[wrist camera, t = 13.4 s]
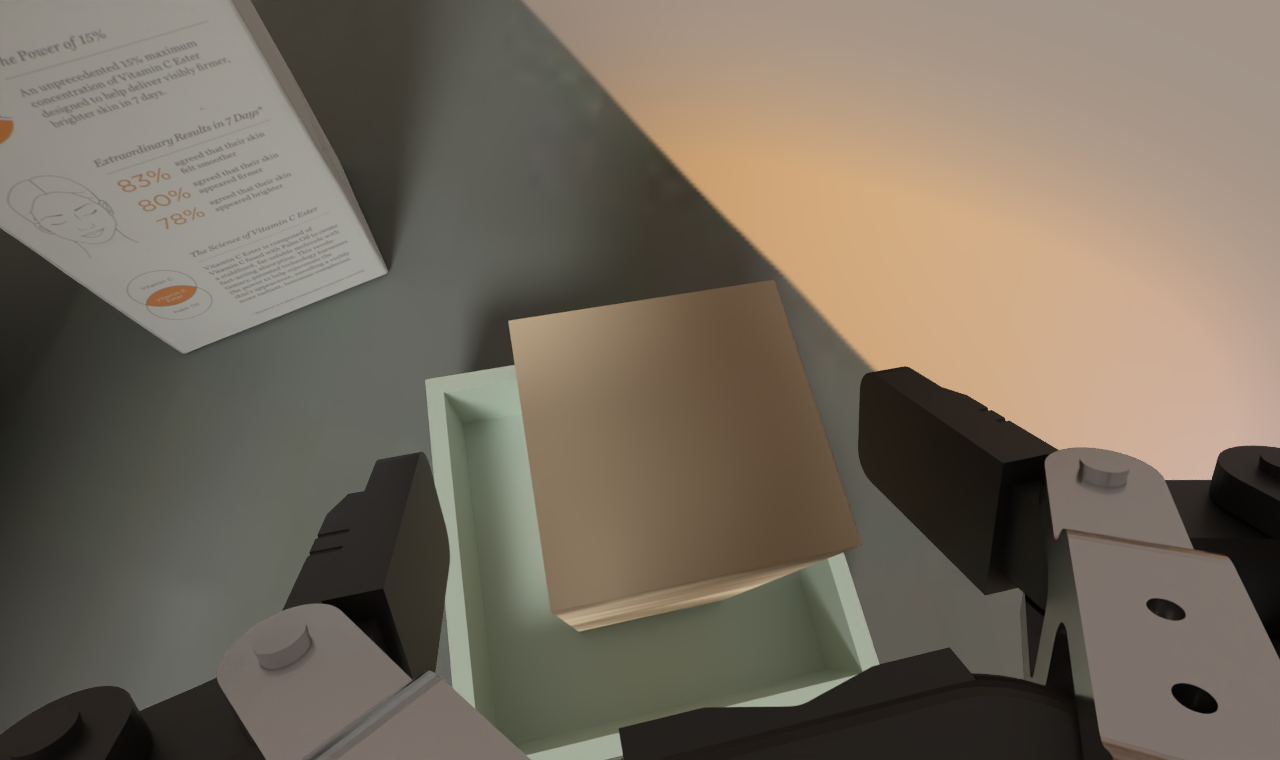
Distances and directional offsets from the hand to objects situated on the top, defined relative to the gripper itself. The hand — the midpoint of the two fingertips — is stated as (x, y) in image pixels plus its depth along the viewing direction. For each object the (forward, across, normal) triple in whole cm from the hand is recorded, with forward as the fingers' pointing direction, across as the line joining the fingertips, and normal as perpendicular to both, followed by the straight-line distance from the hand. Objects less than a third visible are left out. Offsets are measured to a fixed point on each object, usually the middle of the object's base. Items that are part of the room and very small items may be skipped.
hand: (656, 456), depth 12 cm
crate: (+8, 0, +8) cm, 11 cm away
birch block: (+7, 0, +7) cm, 10 cm away
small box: (+18, +12, -2) cm, 22 cm away
